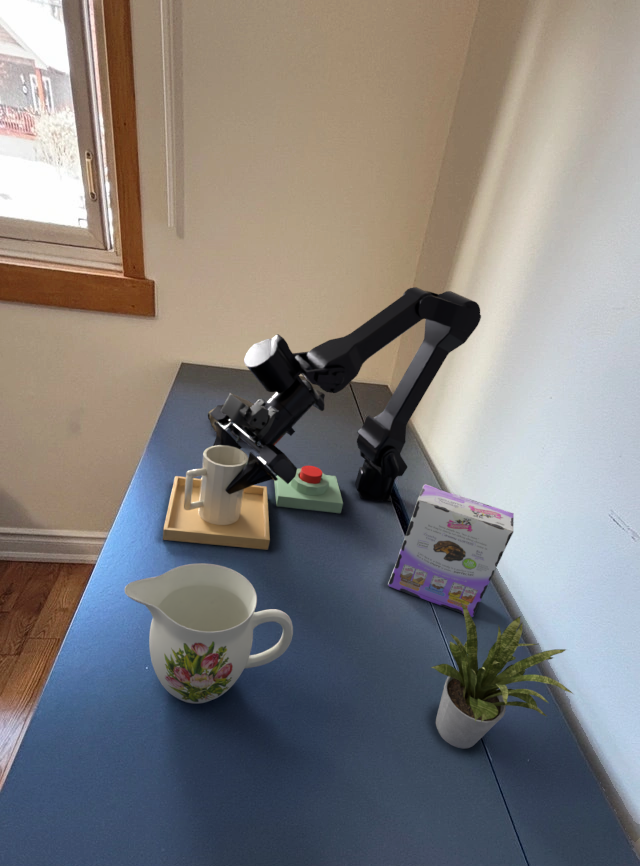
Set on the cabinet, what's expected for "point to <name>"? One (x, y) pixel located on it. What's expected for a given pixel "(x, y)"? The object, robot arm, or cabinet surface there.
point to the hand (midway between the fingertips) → (215, 480)
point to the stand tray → (196, 530)
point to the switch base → (309, 494)
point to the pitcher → (204, 629)
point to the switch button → (311, 474)
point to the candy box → (451, 549)
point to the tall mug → (217, 485)
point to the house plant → (485, 684)
